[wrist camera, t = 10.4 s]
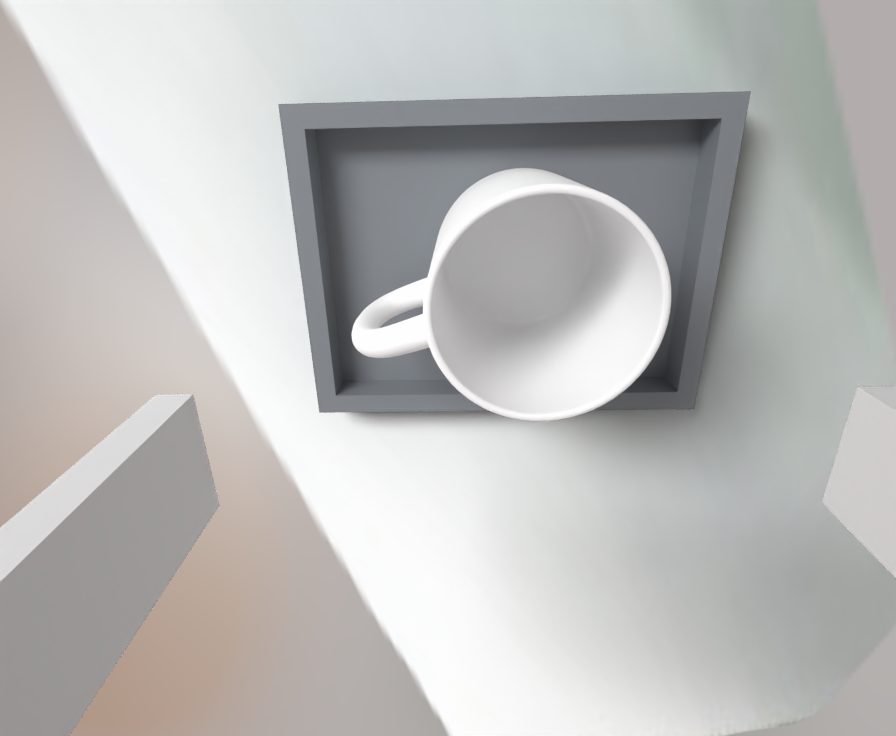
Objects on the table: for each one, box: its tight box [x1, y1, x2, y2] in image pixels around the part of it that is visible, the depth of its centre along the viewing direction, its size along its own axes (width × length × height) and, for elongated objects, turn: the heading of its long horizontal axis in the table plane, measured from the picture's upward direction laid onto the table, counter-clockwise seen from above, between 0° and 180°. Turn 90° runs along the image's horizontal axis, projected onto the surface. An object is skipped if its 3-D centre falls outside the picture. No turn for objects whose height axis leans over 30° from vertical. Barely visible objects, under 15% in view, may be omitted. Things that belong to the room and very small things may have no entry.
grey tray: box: [278, 91, 751, 412], centre depth 27 cm, size 15×20×2 cm
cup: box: [351, 168, 671, 421], centre depth 23 cm, size 8×12×10 cm
